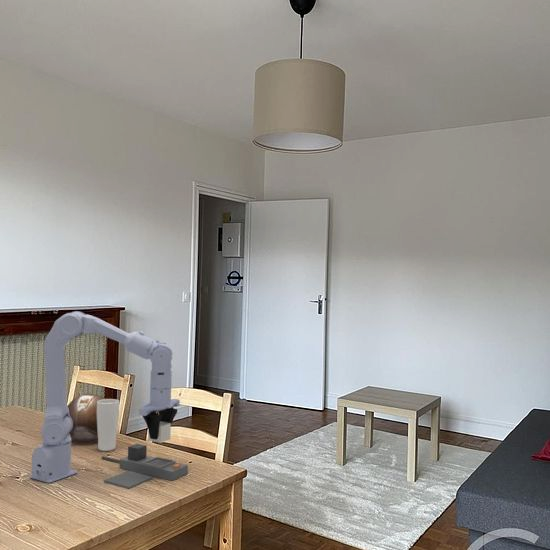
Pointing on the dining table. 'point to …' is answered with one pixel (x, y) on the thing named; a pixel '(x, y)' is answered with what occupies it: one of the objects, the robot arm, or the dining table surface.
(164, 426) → the block
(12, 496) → the dining table surface
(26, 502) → the dining table surface
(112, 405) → the drinking glass
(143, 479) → the felt mat
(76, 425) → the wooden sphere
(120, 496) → the dining table surface
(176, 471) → the power strip
